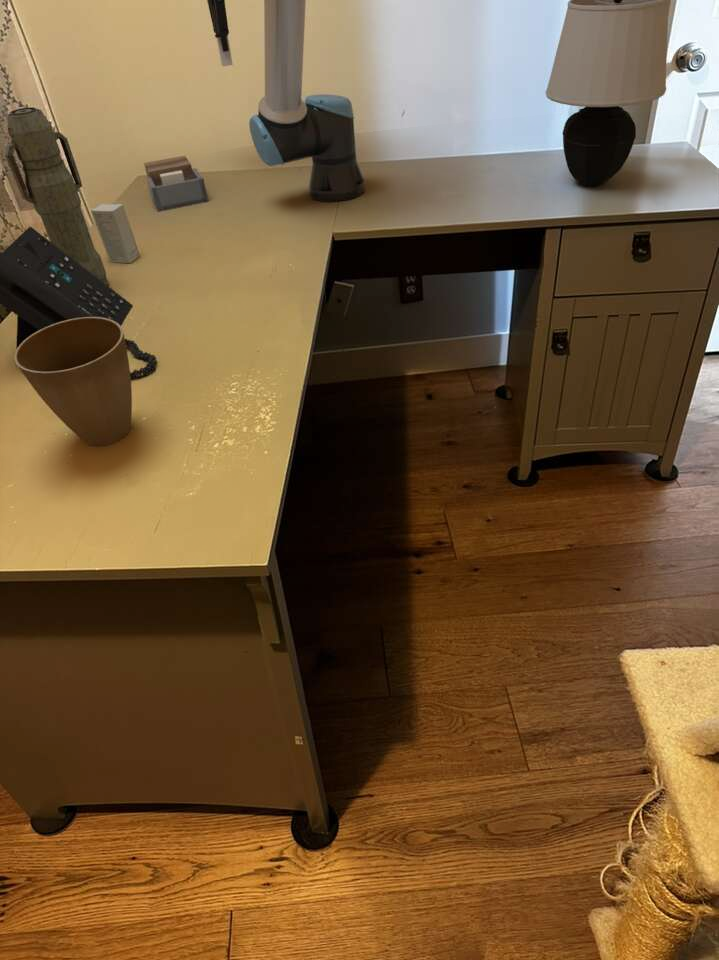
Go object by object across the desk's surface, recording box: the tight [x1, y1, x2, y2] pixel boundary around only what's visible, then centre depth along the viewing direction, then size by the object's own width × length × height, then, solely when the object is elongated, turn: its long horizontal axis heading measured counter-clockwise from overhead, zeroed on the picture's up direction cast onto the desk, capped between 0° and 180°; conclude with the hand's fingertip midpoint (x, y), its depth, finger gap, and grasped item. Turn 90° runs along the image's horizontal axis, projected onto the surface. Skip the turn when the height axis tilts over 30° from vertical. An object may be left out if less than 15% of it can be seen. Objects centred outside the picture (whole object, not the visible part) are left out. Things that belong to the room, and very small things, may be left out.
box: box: [146, 167, 209, 212], centre depth 182 cm, size 11×14×6 cm
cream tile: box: [160, 170, 185, 185], centre depth 182 cm, size 6×6×2 cm
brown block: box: [143, 155, 194, 187], centre depth 190 cm, size 10×12×7 cm
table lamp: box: [545, 0, 670, 187], centre depth 156 cm, size 27×27×40 cm
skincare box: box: [90, 203, 141, 264], centre depth 151 cm, size 6×4×12 cm
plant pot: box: [13, 317, 133, 447], centre depth 98 cm, size 15×15×16 cm
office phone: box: [0, 225, 158, 380], centre depth 119 cm, size 29×28×20 cm
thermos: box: [4, 106, 110, 287], centre depth 133 cm, size 9×12×35 cm
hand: (227, 65), depth 178 cm, fingers closed
